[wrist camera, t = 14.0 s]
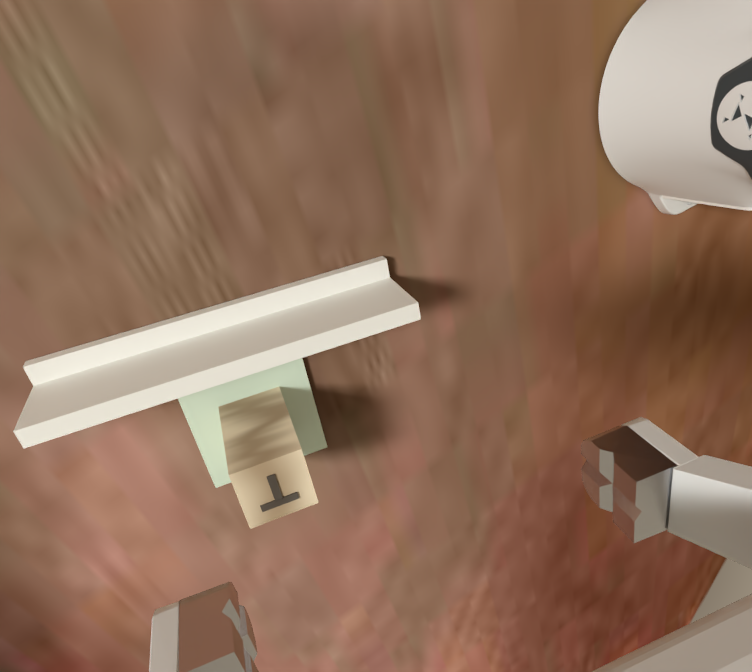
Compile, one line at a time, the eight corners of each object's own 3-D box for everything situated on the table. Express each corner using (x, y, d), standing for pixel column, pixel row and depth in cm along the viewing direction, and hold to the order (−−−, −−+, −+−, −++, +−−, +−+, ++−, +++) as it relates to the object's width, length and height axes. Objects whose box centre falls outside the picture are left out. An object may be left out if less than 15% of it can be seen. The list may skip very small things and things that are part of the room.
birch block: (279, 386, 41) (301, 449, 34) (294, 434, 43) (318, 503, 36) (218, 406, 40) (228, 476, 33) (236, 455, 42) (250, 530, 35)
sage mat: (299, 348, 40) (300, 350, 40) (326, 444, 45) (327, 447, 44) (174, 388, 38) (174, 391, 38) (215, 484, 43) (215, 487, 42)
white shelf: (382, 255, 40) (415, 282, 34) (392, 305, 41) (423, 338, 36) (25, 361, 35) (0, 410, 29) (54, 412, 36) (35, 467, 31)
